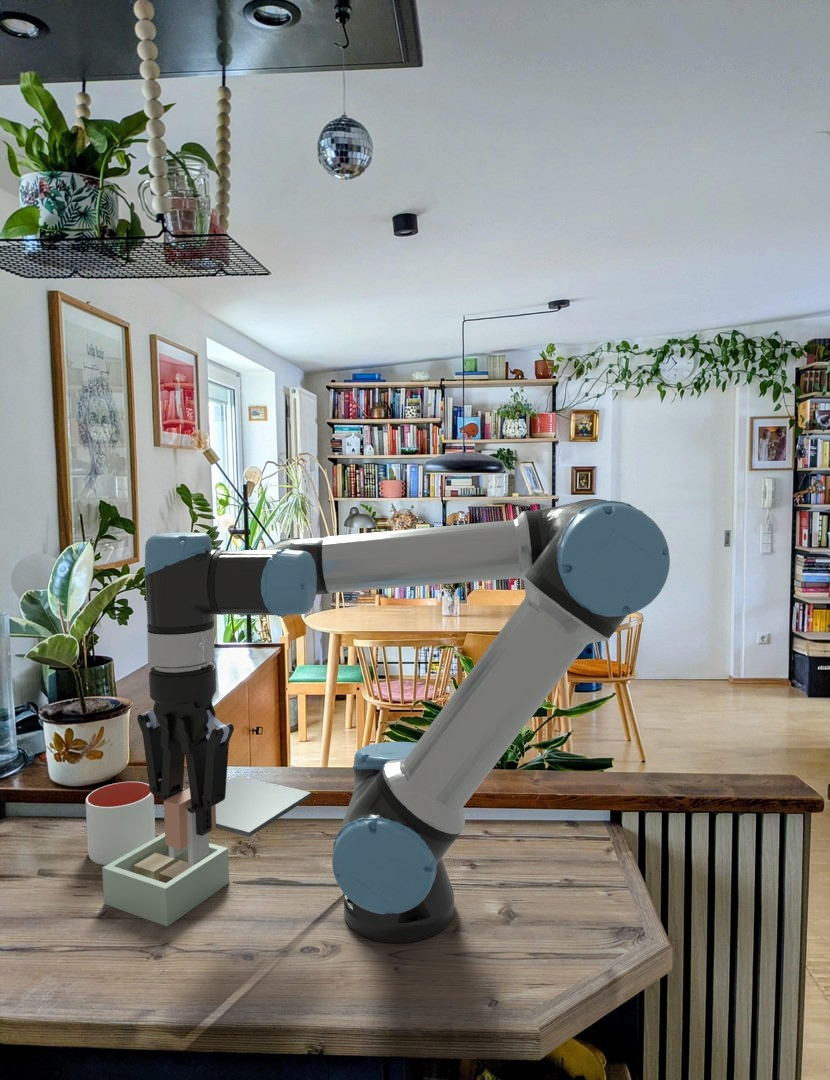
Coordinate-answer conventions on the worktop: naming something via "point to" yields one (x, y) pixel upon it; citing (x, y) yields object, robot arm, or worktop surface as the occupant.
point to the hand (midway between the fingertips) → (189, 855)
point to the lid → (234, 809)
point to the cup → (119, 820)
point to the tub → (159, 897)
